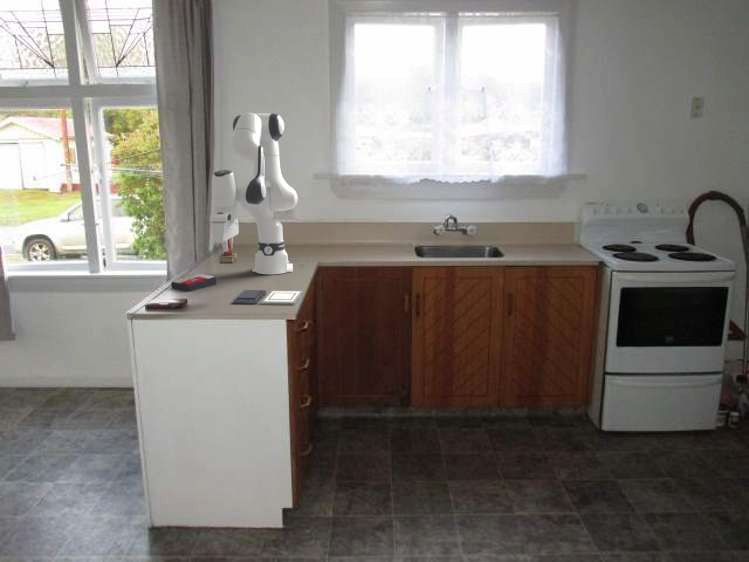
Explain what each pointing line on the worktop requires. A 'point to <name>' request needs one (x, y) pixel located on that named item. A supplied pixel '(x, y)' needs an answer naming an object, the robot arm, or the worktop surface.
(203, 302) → the worktop surface
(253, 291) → the ink pad
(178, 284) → the calculator
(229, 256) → the stamp
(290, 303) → the board
